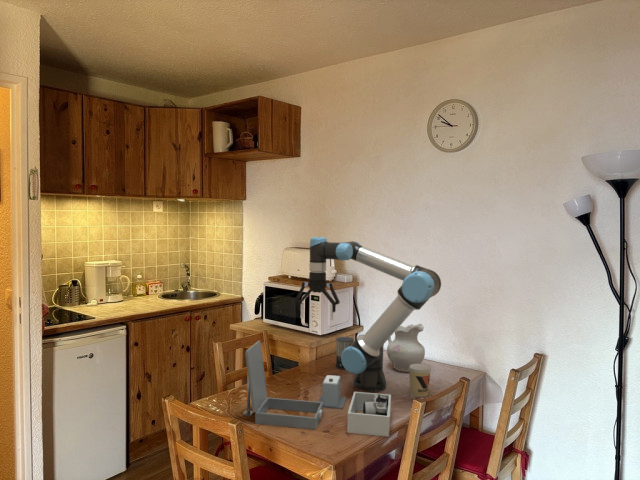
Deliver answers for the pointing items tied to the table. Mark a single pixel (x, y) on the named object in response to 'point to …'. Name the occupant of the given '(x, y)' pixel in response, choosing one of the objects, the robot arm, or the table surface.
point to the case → (289, 419)
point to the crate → (367, 417)
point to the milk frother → (342, 349)
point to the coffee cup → (419, 379)
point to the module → (331, 390)
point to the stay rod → (248, 401)
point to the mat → (339, 406)
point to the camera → (376, 405)
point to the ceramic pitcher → (406, 347)
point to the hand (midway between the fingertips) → (316, 318)
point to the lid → (256, 375)
